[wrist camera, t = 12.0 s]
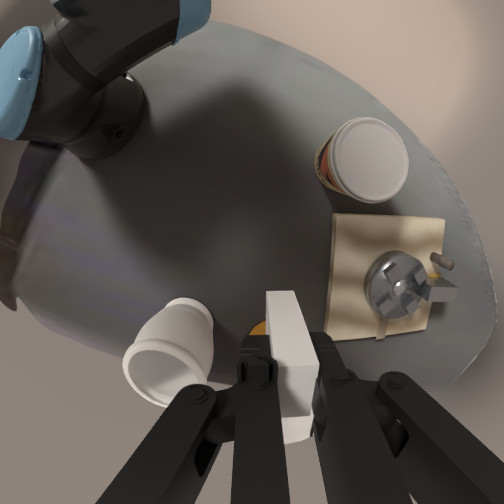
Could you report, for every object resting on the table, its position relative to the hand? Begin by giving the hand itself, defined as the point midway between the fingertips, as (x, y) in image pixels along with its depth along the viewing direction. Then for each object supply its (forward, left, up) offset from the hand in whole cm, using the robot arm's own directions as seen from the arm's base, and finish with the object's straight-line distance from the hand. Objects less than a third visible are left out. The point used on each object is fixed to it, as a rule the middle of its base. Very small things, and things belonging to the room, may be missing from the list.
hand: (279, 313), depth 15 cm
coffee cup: (-10, +11, -25) cm, 29 cm away
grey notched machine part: (+7, +23, -22) cm, 33 cm away
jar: (+14, -12, -25) cm, 31 cm away
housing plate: (+7, +20, -24) cm, 32 cm away
